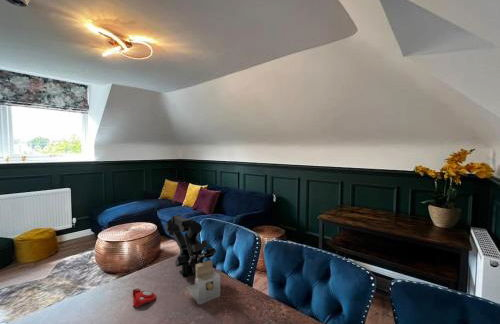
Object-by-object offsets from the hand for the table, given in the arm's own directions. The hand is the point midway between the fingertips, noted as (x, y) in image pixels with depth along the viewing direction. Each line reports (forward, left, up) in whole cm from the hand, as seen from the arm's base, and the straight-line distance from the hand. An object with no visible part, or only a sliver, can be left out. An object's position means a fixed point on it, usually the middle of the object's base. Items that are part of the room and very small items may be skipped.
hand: (201, 274), depth 106 cm
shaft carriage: (+7, 0, -6) cm, 9 cm away
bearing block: (+2, 0, -7) cm, 7 cm away
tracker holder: (-9, -23, -8) cm, 26 cm away
